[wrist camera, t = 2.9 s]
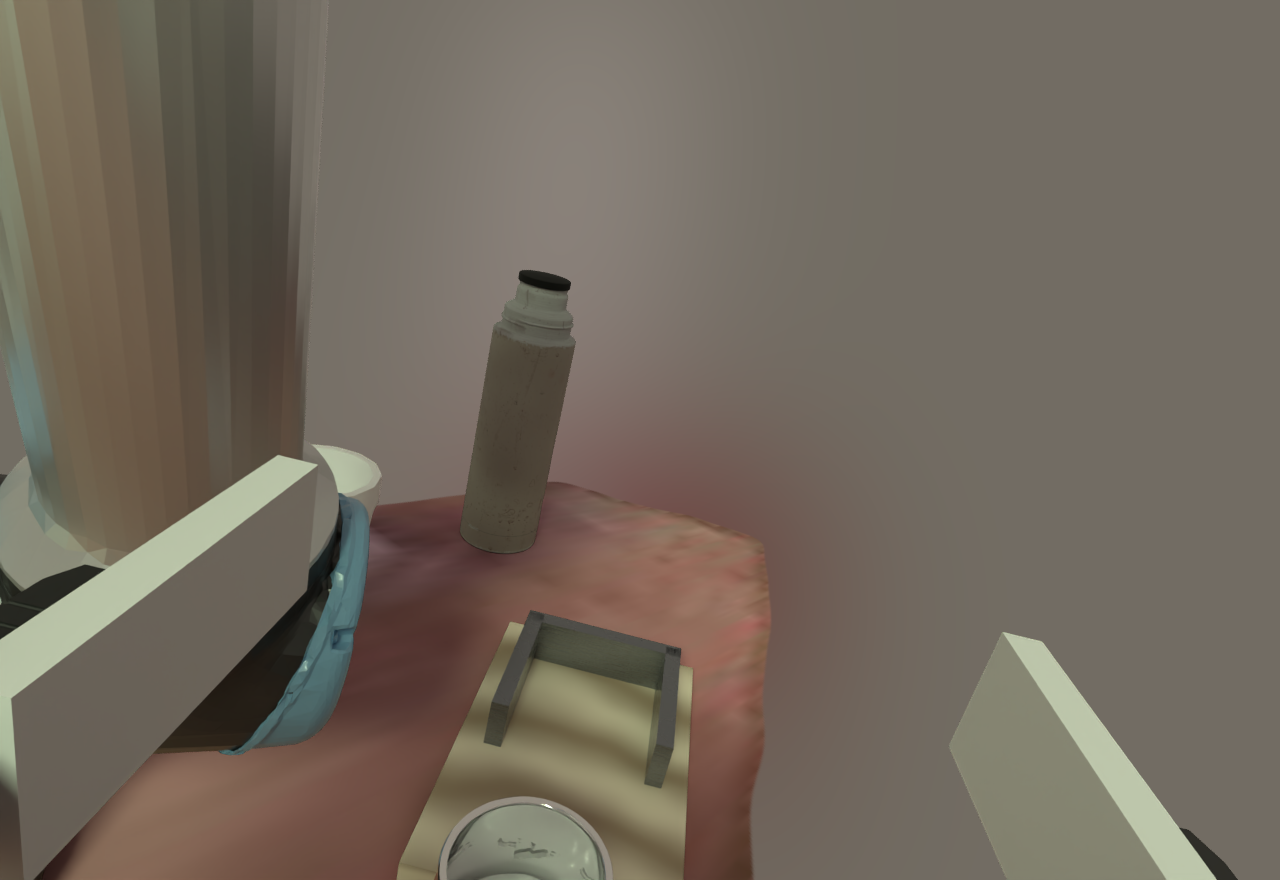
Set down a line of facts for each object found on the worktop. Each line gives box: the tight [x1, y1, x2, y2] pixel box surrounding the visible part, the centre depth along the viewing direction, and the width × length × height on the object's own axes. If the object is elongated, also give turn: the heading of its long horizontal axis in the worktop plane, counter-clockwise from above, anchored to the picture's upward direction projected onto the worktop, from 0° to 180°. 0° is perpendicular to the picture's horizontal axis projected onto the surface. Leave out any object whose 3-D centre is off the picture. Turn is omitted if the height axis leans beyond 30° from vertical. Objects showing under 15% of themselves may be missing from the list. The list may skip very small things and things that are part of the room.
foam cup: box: [311, 444, 382, 526], centre depth 59 cm, size 10×9×13 cm
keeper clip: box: [483, 610, 681, 788], centre depth 56 cm, size 11×12×4 cm
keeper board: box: [396, 621, 693, 880], centre depth 53 cm, size 24×16×2 cm, turn 174°
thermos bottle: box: [460, 270, 576, 553], centre depth 76 cm, size 8×8×28 cm
